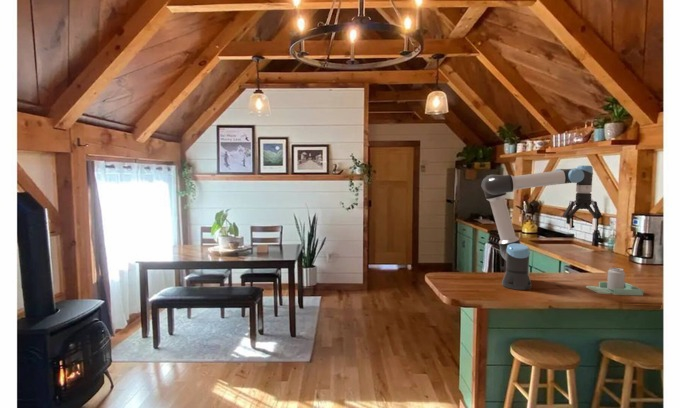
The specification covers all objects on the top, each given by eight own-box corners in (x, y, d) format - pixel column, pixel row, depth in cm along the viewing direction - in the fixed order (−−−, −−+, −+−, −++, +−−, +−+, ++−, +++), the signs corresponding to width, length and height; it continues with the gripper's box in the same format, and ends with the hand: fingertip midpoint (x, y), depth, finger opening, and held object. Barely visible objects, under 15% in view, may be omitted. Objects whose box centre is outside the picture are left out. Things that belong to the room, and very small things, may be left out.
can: (624, 290, 207) (625, 268, 207) (623, 293, 202) (625, 271, 201) (607, 287, 212) (608, 266, 211) (606, 290, 206) (607, 268, 205)
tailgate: (610, 295, 202) (598, 294, 202) (597, 288, 213) (586, 287, 213) (610, 292, 202) (598, 291, 202) (597, 286, 213) (586, 285, 213)
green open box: (614, 295, 200) (615, 289, 200) (598, 287, 214) (599, 281, 214) (642, 296, 199) (643, 289, 199) (625, 288, 213) (625, 282, 213)
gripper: (564, 192, 215) (562, 230, 216) (610, 193, 213) (608, 231, 215) (557, 192, 222) (555, 228, 224) (602, 192, 220) (600, 229, 222)
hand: (581, 229), depth 219 cm, fingers open, 13 cm apart
